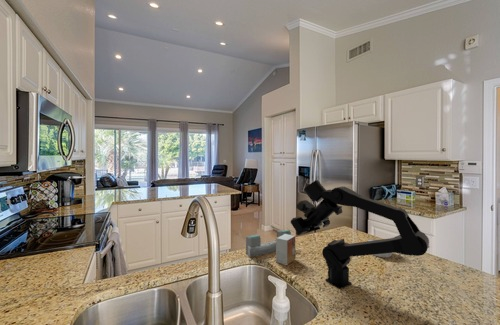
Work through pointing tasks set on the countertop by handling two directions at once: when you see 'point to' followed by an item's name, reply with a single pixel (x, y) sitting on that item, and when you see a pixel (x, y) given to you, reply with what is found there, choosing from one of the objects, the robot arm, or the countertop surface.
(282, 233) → the block
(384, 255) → the ramekin
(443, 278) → the countertop surface
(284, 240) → the small box
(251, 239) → the block
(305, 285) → the countertop surface
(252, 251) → the rail
